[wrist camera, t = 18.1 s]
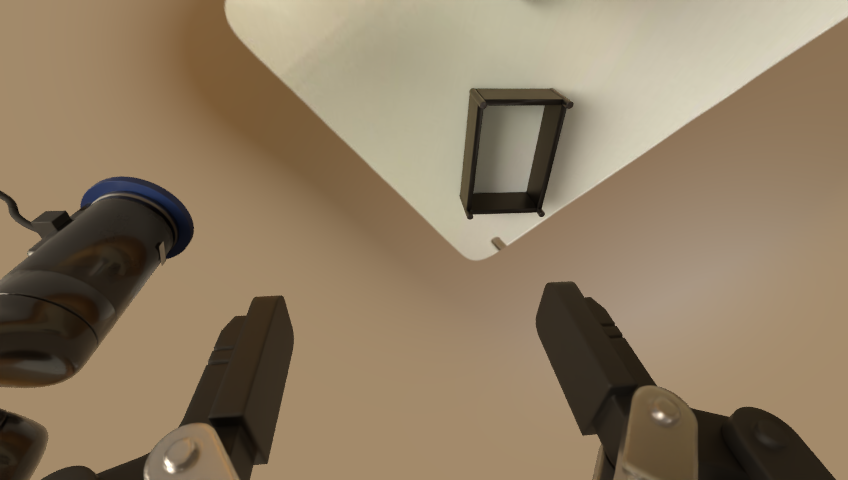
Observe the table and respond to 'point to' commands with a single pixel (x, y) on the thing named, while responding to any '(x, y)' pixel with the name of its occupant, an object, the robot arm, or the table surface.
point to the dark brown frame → (542, 157)
